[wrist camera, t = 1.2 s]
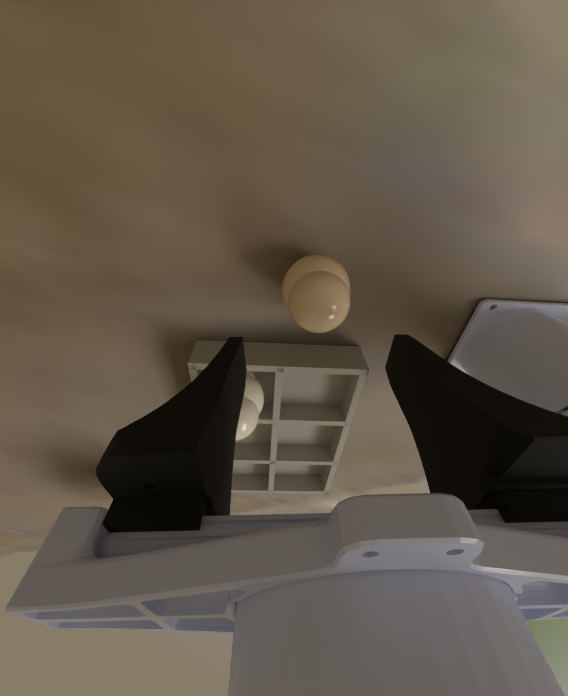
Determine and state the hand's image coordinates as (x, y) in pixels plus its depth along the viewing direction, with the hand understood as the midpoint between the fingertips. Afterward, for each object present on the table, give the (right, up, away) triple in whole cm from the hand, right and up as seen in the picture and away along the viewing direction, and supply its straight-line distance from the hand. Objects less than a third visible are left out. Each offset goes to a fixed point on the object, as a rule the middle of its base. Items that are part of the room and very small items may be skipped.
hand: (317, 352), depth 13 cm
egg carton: (-3, -7, +16) cm, 18 cm away
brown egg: (0, +5, +7) cm, 9 cm away
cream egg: (-5, -2, +11) cm, 13 cm away
